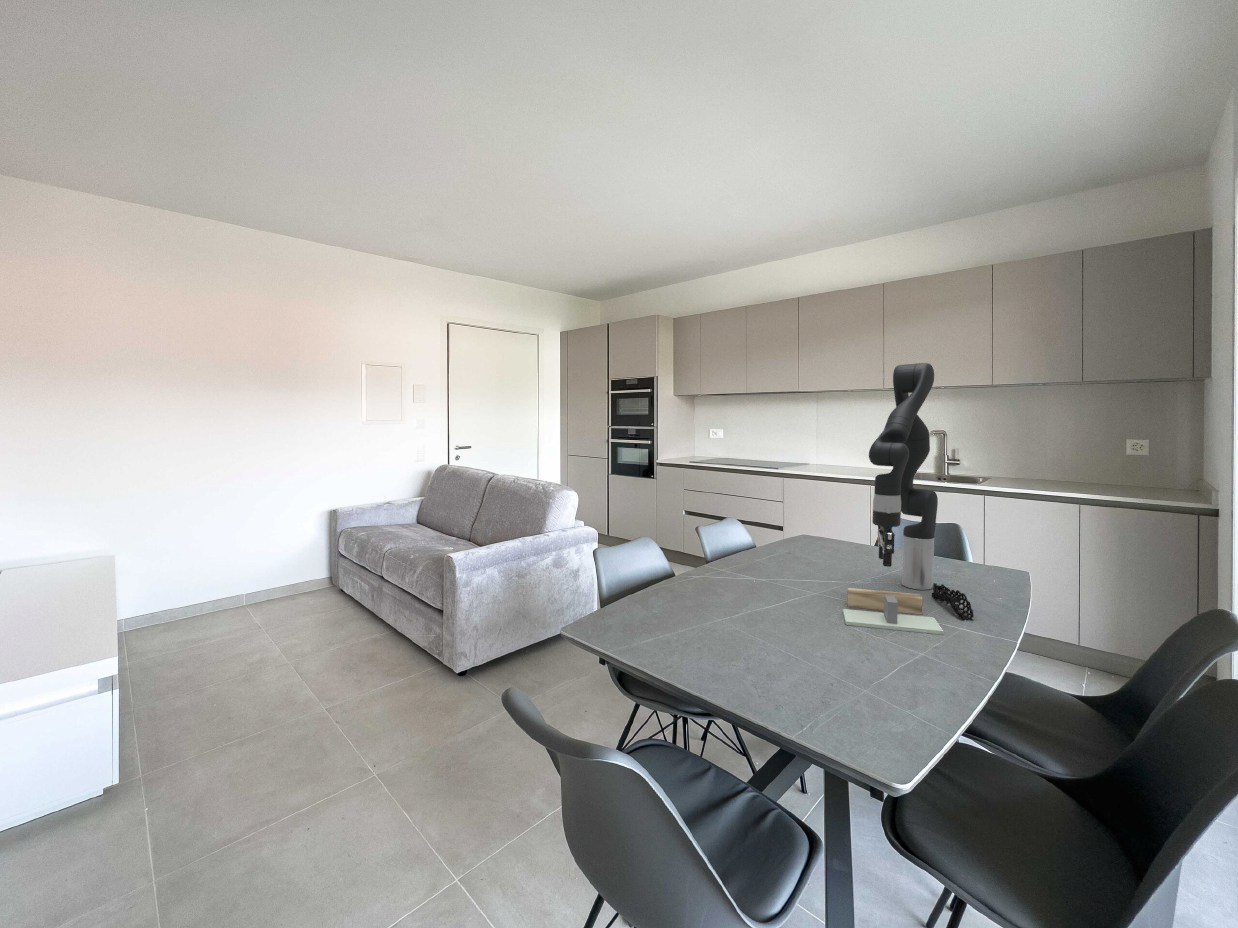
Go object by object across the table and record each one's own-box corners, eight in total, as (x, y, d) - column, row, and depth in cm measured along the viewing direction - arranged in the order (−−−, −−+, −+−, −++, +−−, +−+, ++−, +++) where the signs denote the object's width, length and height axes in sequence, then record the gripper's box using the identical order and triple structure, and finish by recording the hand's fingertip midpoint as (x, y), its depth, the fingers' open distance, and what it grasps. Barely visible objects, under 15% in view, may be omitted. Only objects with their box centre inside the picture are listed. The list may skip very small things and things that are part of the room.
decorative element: (977, 622, 151) (978, 602, 151) (957, 621, 152) (959, 601, 151) (943, 596, 173) (944, 578, 173) (926, 595, 174) (927, 577, 174)
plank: (847, 603, 167) (847, 587, 167) (919, 610, 161) (920, 594, 160) (848, 607, 164) (848, 591, 163) (922, 615, 157) (922, 598, 157)
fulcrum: (842, 612, 159) (843, 589, 159) (934, 620, 152) (935, 596, 151) (845, 624, 150) (846, 600, 149) (943, 634, 142) (944, 609, 142)
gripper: (869, 505, 167) (868, 555, 169) (876, 512, 154) (874, 567, 155) (896, 506, 165) (894, 557, 166) (905, 513, 152) (903, 569, 153)
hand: (884, 562), depth 161 cm, fingers open, 8 cm apart
